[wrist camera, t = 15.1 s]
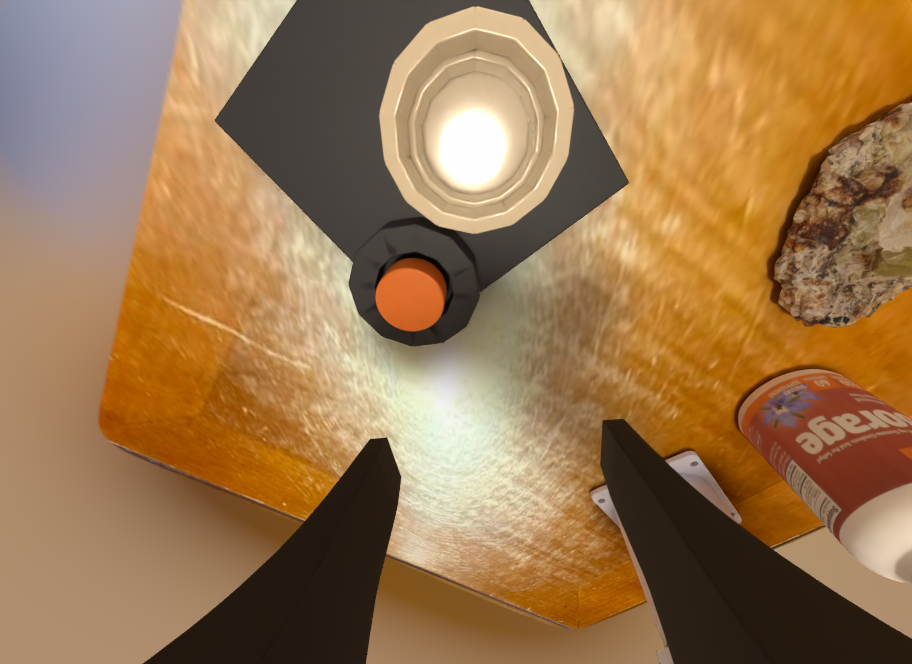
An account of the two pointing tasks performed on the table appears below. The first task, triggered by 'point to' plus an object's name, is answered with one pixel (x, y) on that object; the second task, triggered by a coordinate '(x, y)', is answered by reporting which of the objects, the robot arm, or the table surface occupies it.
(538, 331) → the table surface
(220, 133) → the table surface
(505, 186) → the beige hollow cylinder
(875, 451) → the pill bottle
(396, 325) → the button
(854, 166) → the mineral rock
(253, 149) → the scale
